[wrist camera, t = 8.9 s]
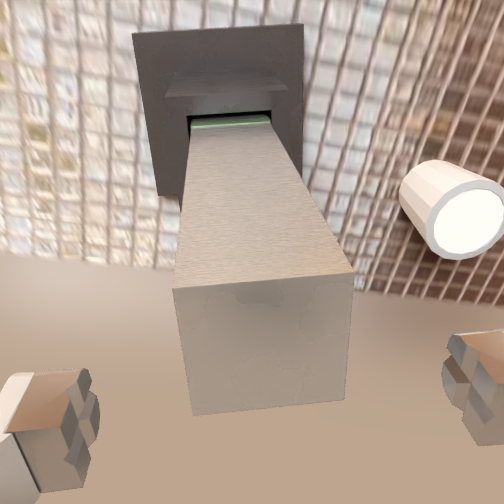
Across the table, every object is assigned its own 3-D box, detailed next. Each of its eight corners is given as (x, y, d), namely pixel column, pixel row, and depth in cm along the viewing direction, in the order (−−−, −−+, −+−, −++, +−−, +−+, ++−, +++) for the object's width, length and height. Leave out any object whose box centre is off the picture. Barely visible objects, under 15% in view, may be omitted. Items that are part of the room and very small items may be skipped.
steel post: (263, 108, 25) (357, 269, 10) (265, 175, 27) (345, 400, 12) (192, 113, 25) (169, 286, 9) (199, 180, 27) (191, 417, 11)
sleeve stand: (299, 23, 32) (345, 29, 21) (298, 178, 38) (334, 244, 27) (134, 32, 31) (98, 43, 21) (159, 189, 37) (141, 260, 27)
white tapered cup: (438, 232, 42) (478, 270, 36) (378, 211, 40) (408, 247, 34) (480, 167, 39) (532, 197, 33) (417, 141, 37) (458, 167, 31)
